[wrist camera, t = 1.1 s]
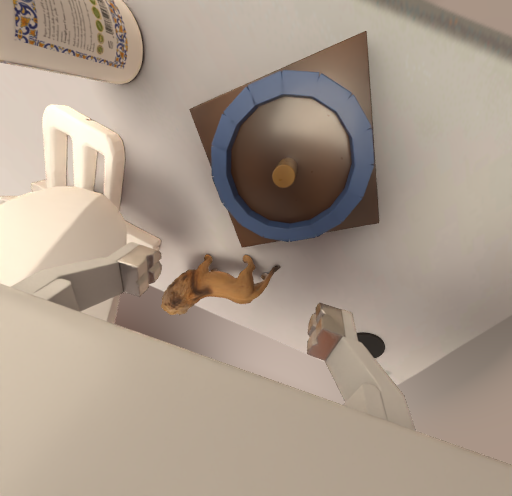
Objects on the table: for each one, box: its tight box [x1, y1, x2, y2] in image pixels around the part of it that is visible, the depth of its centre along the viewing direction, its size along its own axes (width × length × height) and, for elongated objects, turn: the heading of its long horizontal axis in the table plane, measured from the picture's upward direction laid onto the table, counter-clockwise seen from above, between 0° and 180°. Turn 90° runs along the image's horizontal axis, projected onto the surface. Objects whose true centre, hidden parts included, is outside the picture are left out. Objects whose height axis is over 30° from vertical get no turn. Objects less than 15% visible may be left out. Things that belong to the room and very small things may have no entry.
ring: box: [211, 70, 374, 242], centre depth 22 cm, size 15×15×2 cm
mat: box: [357, 333, 385, 358], centre depth 35 cm, size 6×6×1 cm
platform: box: [190, 31, 379, 247], centre depth 22 cm, size 16×16×6 cm
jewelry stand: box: [0, 105, 161, 324], centre depth 20 cm, size 25×16×25 cm, turn 63°
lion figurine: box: [161, 254, 280, 315], centre depth 29 cm, size 15×5×9 cm, turn 102°
